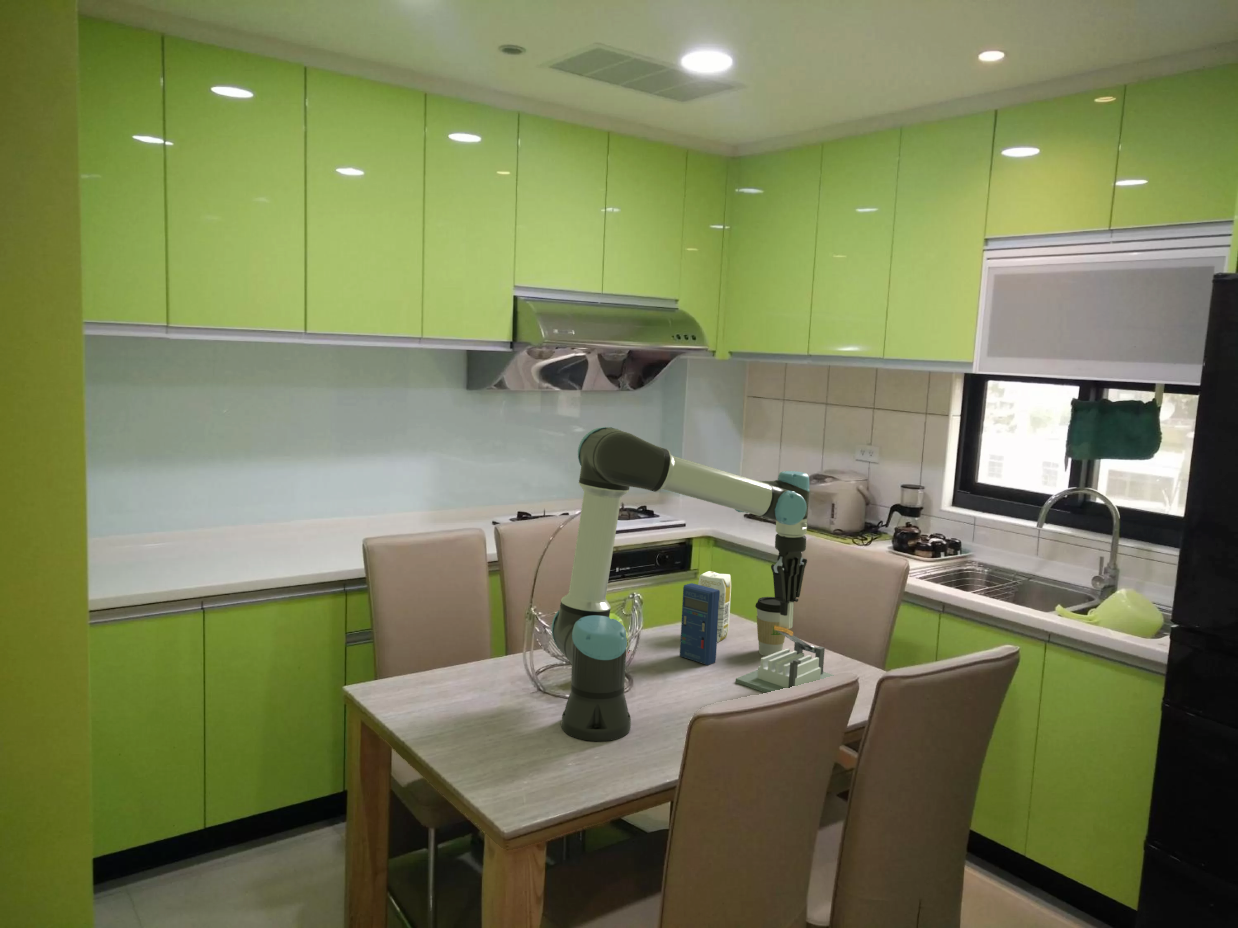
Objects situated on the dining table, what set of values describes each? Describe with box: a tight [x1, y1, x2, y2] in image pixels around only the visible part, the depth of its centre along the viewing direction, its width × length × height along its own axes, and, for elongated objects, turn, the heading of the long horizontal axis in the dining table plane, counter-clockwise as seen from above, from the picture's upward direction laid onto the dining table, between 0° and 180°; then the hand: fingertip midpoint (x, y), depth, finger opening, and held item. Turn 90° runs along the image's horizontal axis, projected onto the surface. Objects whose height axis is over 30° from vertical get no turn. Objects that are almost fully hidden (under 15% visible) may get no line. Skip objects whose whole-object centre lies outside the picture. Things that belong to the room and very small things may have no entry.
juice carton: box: [697, 570, 732, 643], centre depth 261 cm, size 8×9×19 cm
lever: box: [773, 625, 818, 654], centre depth 229 cm, size 17×4×2 cm, turn 137°
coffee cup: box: [755, 596, 786, 657], centre depth 250 cm, size 10×10×15 cm
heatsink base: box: [735, 642, 835, 694], centre depth 228 cm, size 22×18×9 cm
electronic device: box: [679, 582, 720, 666], centre depth 242 cm, size 10×5×20 cm, turn 48°
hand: (785, 626), depth 224 cm, fingers closed
